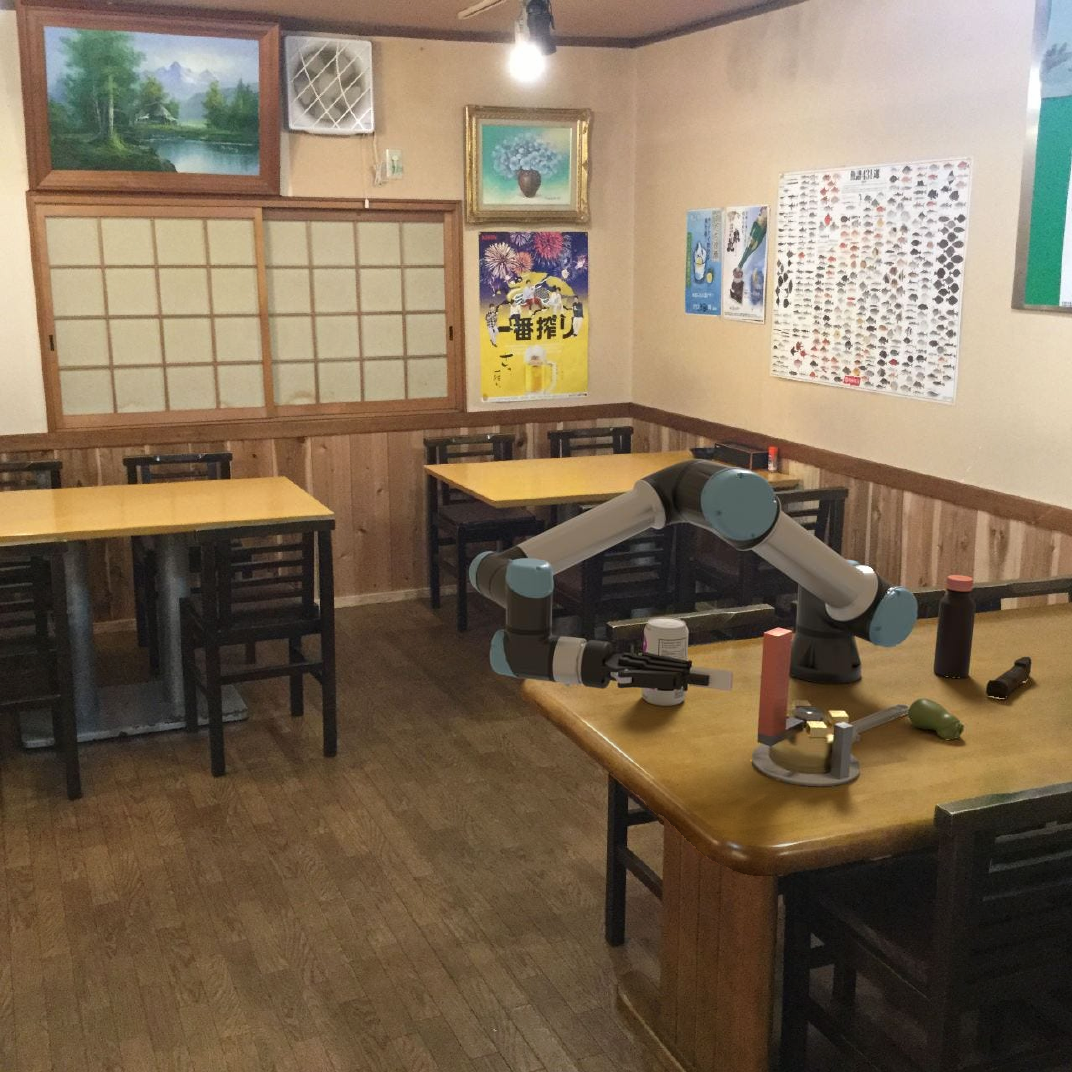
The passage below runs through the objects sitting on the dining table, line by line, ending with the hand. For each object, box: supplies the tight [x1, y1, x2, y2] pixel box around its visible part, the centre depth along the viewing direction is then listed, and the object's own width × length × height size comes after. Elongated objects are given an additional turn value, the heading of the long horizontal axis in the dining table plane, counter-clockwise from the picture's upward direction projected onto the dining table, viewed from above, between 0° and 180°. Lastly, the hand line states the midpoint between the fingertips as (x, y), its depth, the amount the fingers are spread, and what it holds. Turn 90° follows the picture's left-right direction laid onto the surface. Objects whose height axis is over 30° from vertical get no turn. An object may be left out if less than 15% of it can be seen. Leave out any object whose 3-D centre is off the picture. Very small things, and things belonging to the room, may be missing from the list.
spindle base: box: [751, 706, 861, 788], centre depth 190 cm, size 17×17×10 cm
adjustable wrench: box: [848, 703, 910, 744], centre depth 208 cm, size 25×6×2 cm, turn 126°
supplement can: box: [641, 616, 690, 707], centre depth 218 cm, size 8×8×15 cm
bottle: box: [933, 574, 977, 679], centre depth 236 cm, size 7×7×20 cm
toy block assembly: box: [756, 627, 850, 773], centre depth 186 cm, size 19×12×24 cm, turn 136°
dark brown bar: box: [985, 656, 1032, 699], centre depth 230 cm, size 19×4×5 cm, turn 138°
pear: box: [907, 698, 965, 740], centre depth 206 cm, size 6×5×10 cm
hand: (731, 681), depth 181 cm, fingers closed
